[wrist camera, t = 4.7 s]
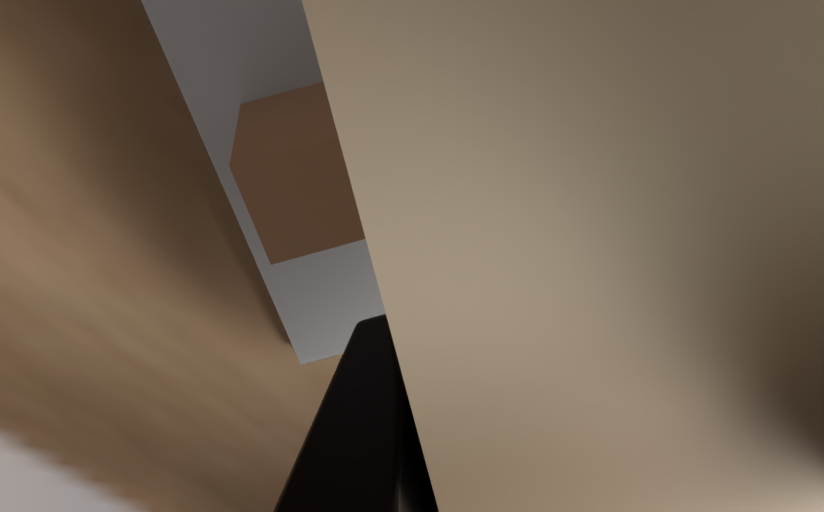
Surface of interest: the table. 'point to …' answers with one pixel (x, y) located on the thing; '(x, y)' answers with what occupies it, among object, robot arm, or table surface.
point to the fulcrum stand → (276, 158)
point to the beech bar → (595, 243)
